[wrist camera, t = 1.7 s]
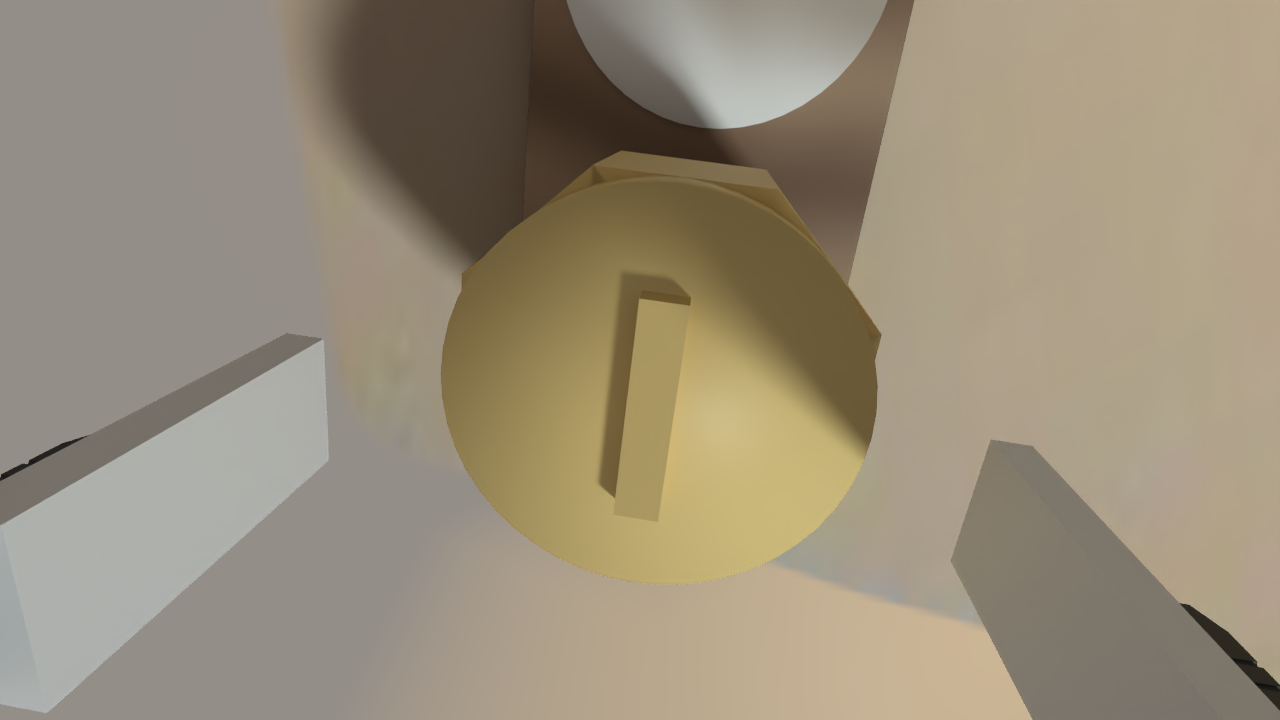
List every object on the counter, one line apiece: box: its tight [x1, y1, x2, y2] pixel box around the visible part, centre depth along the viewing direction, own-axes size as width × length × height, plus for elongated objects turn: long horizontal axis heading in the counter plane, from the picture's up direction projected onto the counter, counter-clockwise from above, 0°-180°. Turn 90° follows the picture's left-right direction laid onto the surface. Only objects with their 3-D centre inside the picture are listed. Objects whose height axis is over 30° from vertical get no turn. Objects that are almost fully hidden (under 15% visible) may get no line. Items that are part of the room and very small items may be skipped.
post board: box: [522, 0, 914, 284], centre depth 18 cm, size 20×11×9 cm, turn 173°
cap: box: [441, 151, 881, 584], centre depth 17 cm, size 9×9×6 cm
